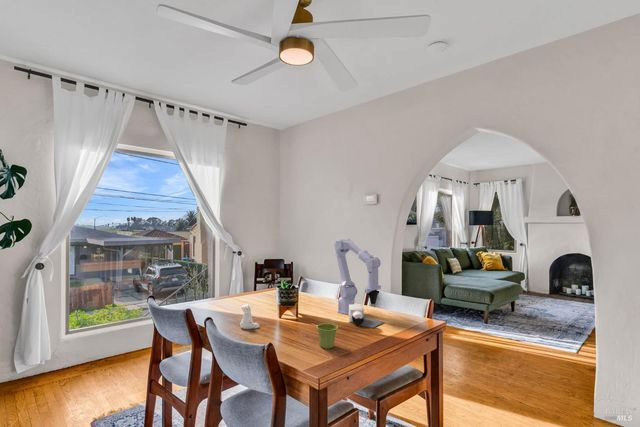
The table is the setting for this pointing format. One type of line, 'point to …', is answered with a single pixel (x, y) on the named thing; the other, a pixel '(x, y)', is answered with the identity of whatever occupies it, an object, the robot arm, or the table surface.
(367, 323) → the mat
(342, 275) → the robot arm
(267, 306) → the table surface
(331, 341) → the plant pot
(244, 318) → the white creature statuette
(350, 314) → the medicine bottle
